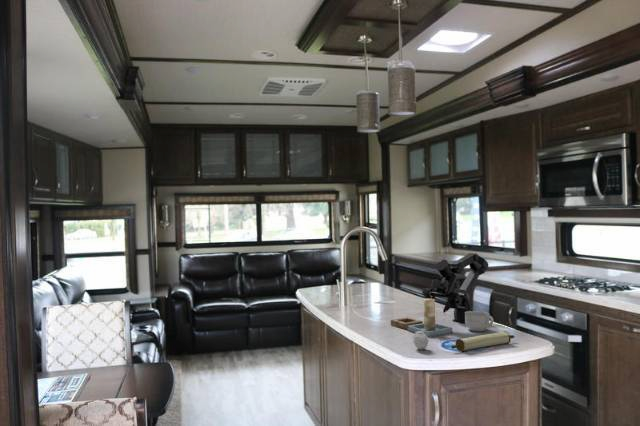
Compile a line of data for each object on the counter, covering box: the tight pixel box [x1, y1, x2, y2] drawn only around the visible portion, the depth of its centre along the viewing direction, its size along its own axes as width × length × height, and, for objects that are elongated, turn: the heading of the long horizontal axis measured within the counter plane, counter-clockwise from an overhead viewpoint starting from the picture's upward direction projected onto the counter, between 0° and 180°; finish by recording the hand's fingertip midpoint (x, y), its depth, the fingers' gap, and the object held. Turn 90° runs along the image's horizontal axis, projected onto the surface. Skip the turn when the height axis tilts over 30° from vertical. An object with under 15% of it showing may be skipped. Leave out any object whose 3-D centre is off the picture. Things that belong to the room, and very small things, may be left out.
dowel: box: [423, 298, 436, 331], centre depth 222 cm, size 5×5×14 cm
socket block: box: [390, 316, 424, 330], centre depth 235 cm, size 11×11×2 cm
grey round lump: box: [412, 331, 429, 351], centre depth 195 cm, size 6×7×7 cm
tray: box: [407, 322, 453, 338], centre depth 222 cm, size 14×14×2 cm
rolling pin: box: [450, 330, 515, 353], centre depth 196 cm, size 32×6×5 cm, turn 115°
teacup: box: [464, 310, 494, 332], centre depth 222 cm, size 14×11×8 cm
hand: (435, 310), depth 225 cm, fingers open, 9 cm apart
